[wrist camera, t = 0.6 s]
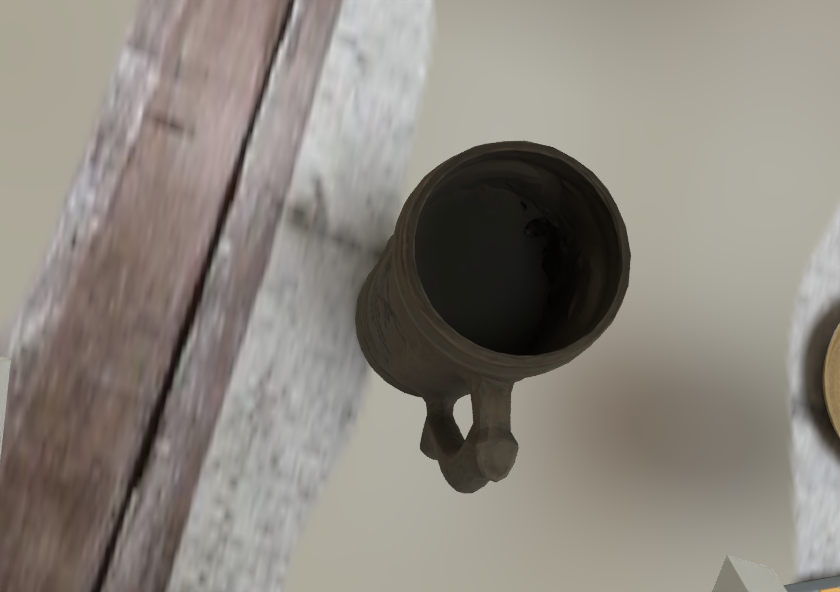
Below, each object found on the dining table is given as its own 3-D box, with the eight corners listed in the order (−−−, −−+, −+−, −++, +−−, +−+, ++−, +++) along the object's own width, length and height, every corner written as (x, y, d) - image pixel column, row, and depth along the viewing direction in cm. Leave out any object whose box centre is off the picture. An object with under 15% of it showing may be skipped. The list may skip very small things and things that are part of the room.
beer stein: (349, 235, 46) (378, 132, 26) (501, 229, 48) (633, 128, 28) (364, 465, 44) (406, 536, 25) (520, 450, 46) (675, 504, 27)
